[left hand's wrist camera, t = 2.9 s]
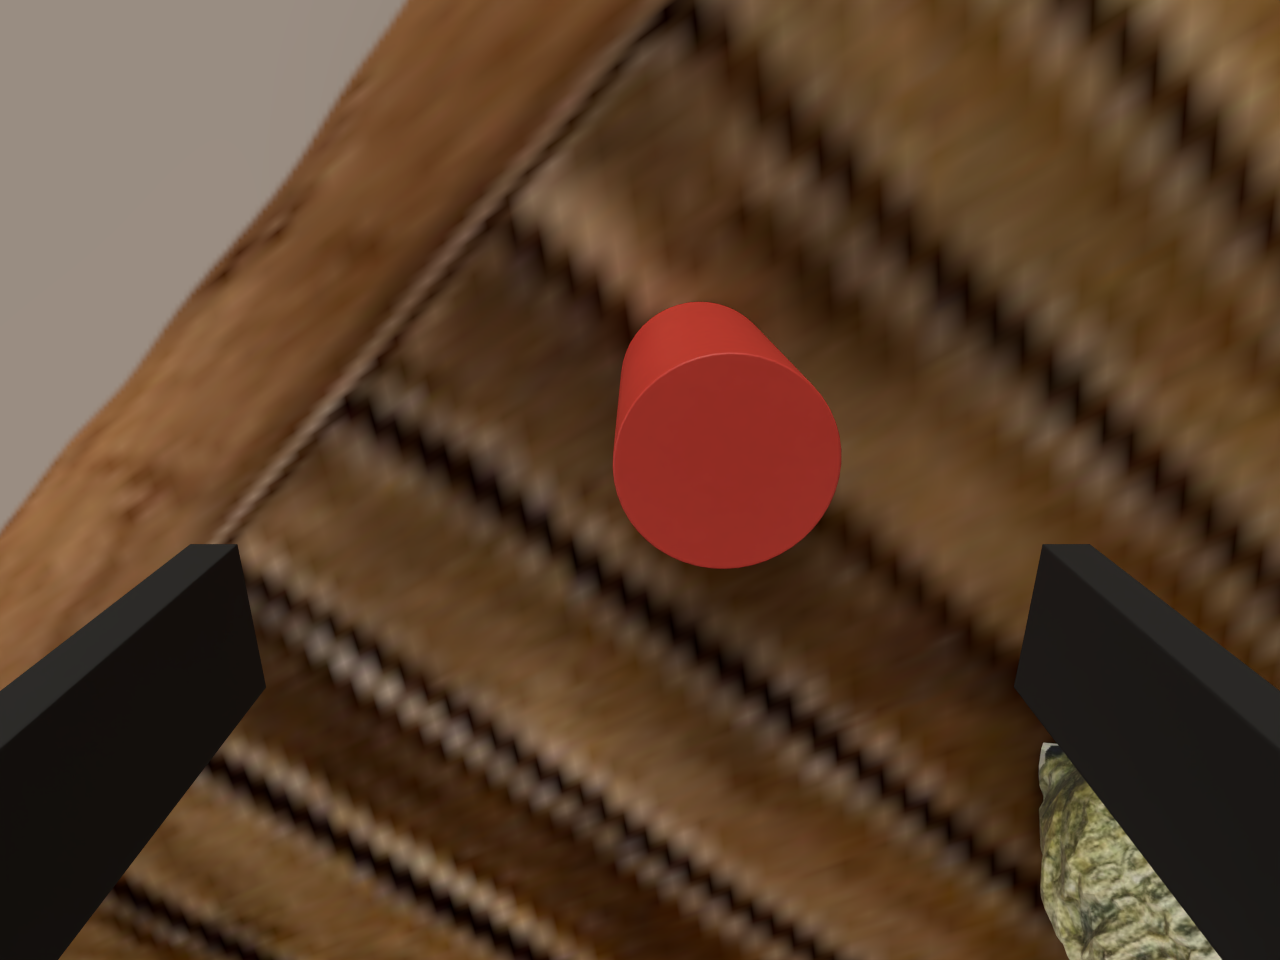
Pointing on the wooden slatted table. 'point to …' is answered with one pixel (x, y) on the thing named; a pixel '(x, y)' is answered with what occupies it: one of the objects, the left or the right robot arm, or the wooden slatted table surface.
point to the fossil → (1103, 879)
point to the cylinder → (720, 440)
